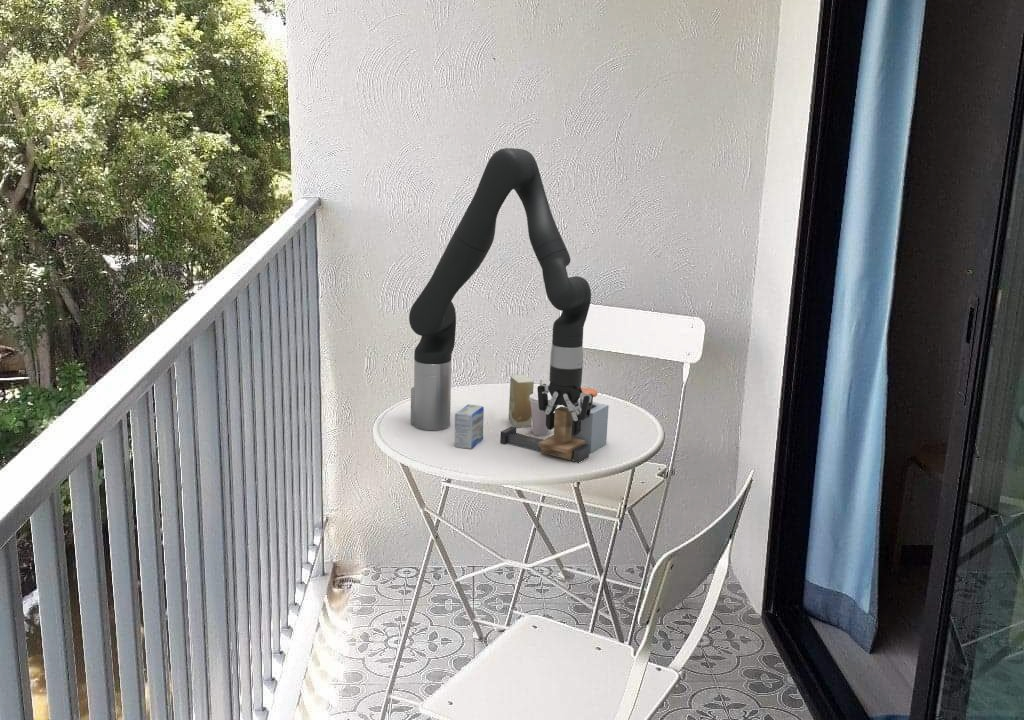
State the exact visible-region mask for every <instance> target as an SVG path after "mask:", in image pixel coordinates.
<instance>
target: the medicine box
mask: <svg viewBox="0 0 1024 720" xmlns="http://www.w3.org/2000/svg"><path fill="white" fill-rule="evenodd" d="M484 409H485V407H484V405H478V404H466V405H465V406H463V408H461V409H460V410H458V411H457V412H454V447H455V448H461V449H468V450H472V449H473V448H474V447H475V446H477V445H478V444H479V443H480V442H482V440H483V439H484V413H485V410H484Z"/></svg>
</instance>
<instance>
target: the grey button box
mask: <svg viewBox="0 0 1024 720" xmlns="http://www.w3.org/2000/svg"><path fill="white" fill-rule="evenodd" d="M578 401H579V403H580V398H579V399H578ZM573 406H574V405H573ZM609 406H610V405H608V404H605V403H600V402H594V401H593V404H592V409H591V411H590V416H589V417H588V418H586V419H585V420H581V431H580V433H579V434H578V435H576V436H573V435H572V426H571V437H573V438H577V439H581V440H585V444H587V445H590V447H589V454H592V453H594V452H595V451H597V450H599V449H600V447H601V448H603V446H605V444H606V445H607V436H608V423H609V422H608V419H609ZM563 407H565V406H563ZM566 408H568V407H566ZM580 409H581V410H582V408H580ZM573 420H574V419H573V417H572V421H573ZM598 448H599V449H598Z"/></svg>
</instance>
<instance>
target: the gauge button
mask: <svg viewBox="0 0 1024 720" xmlns="http://www.w3.org/2000/svg"><path fill="white" fill-rule="evenodd" d="M581 390H582V392H583V393H585V394H592V395H593V398H595V397H597V396H598V390H597V389H595V388H590V387H589V388H588V387H581ZM579 399H580V406H581V408H582V404H583V403H582V402H581V400H582V399H581V397H580V398H579ZM593 402H594V401H592V404H593ZM591 409H592V406H591Z"/></svg>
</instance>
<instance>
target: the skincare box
mask: <svg viewBox="0 0 1024 720" xmlns="http://www.w3.org/2000/svg"><path fill="white" fill-rule="evenodd" d="M509 380H510V383H509V385H510V386H509V398H508V399H509V403H508V406H509V407H508V418H507V419H508V421H509V422H510V423H511V424H512V425H513V427H516V428H527V427H531V426H532V414H531V402H530V400H529V396H530V395H531V394H533V393H534V385H535V383H534V380H532V379H531V378H530V377H529V376H528V375H526V374H519V375H517V374H515V375H510V379H509Z"/></svg>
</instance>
